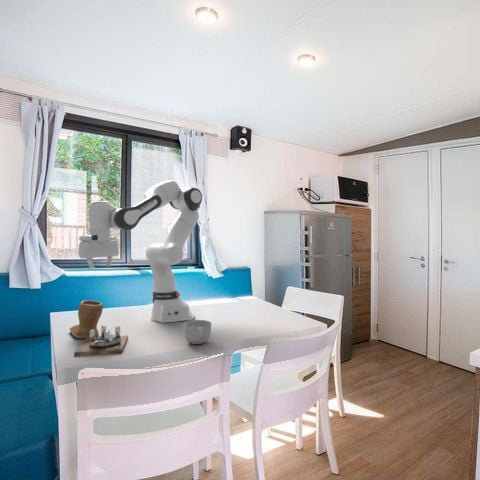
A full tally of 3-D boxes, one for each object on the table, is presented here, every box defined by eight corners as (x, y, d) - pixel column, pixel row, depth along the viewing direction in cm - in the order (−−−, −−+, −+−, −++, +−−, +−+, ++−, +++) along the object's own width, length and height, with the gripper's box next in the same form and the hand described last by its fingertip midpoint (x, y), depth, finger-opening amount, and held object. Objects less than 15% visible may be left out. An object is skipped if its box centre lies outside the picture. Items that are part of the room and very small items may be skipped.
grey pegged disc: (118, 337, 133) (117, 323, 133) (123, 344, 123) (123, 330, 123) (87, 341, 128) (87, 327, 127) (90, 350, 118) (90, 334, 118)
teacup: (185, 338, 137) (185, 319, 137) (211, 337, 138) (211, 318, 138) (182, 349, 123) (182, 328, 123) (211, 348, 124) (211, 327, 124)
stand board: (127, 339, 136) (127, 334, 136) (121, 353, 120) (121, 348, 119) (86, 341, 133) (86, 337, 133) (74, 356, 116) (74, 351, 116)
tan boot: (106, 337, 139) (105, 301, 139) (75, 342, 132) (74, 305, 132) (97, 329, 152) (97, 296, 151) (69, 333, 145) (68, 299, 145)
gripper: (111, 236, 159) (112, 265, 160) (75, 237, 140) (76, 269, 141) (121, 236, 157) (122, 265, 157) (86, 236, 138) (87, 269, 138)
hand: (100, 267), depth 149 cm, fingers open, 8 cm apart
